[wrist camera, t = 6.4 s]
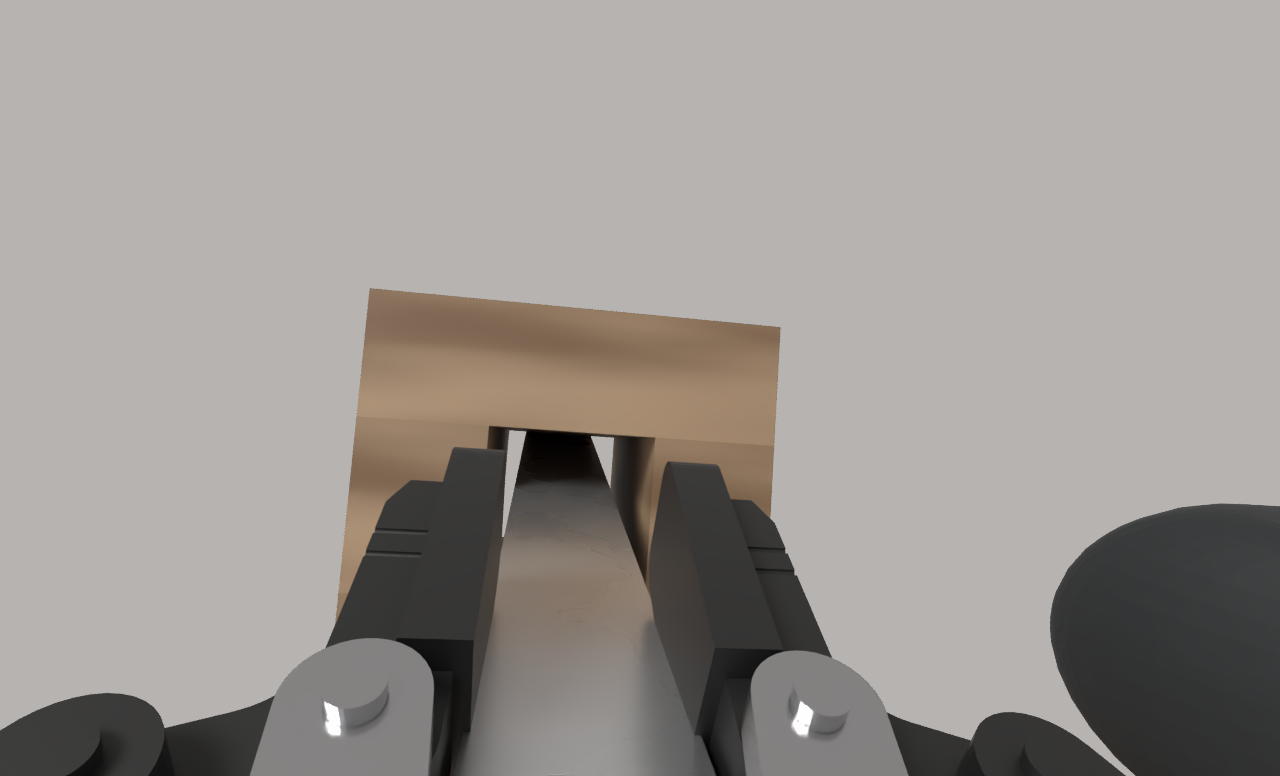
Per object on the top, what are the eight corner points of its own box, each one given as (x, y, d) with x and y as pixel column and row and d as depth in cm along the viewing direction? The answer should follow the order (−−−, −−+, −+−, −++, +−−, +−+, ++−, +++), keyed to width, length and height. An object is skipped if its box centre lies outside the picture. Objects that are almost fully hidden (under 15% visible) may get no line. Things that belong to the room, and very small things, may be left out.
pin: (884, 1943, 3) (960, 1435, 3) (260, 2101, 3) (296, 1522, 2) (585, 497, 27) (590, 435, 26) (521, 494, 26) (526, 431, 26)
